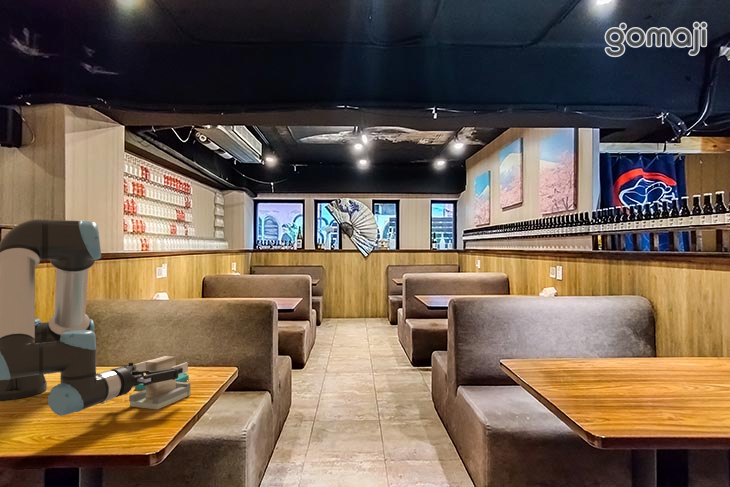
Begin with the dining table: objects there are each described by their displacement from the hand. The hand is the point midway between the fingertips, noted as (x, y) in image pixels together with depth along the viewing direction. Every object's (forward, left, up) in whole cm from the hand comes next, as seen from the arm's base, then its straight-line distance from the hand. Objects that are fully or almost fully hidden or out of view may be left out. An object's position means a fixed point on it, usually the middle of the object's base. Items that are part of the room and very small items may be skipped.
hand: (168, 365), depth 144 cm
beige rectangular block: (0, -3, -8) cm, 9 cm away
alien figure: (-17, +14, -10) cm, 24 cm away
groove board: (0, -3, -10) cm, 10 cm away
